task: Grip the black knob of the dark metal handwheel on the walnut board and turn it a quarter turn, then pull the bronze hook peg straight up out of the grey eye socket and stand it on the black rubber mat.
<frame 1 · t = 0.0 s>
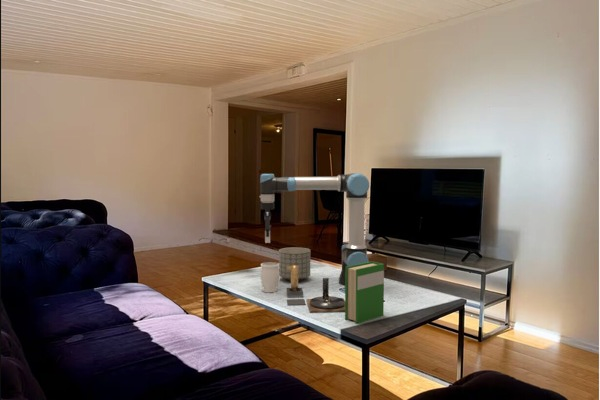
hand: (267, 240, 245), 28 cm above the table, fingers open, 13 cm apart
planter: (294, 280, 271), on the table
wheel base: (327, 306, 219), on the table
hardback book: (364, 317, 203), on the table
pad: (296, 302, 225), on the table
handwheel: (327, 292, 219), point 7 cm above the table, hinge at -90.0°
eye block: (294, 295, 238), on the table
hook peg: (292, 280, 237), in the eye block
jar: (270, 290, 247), on the table
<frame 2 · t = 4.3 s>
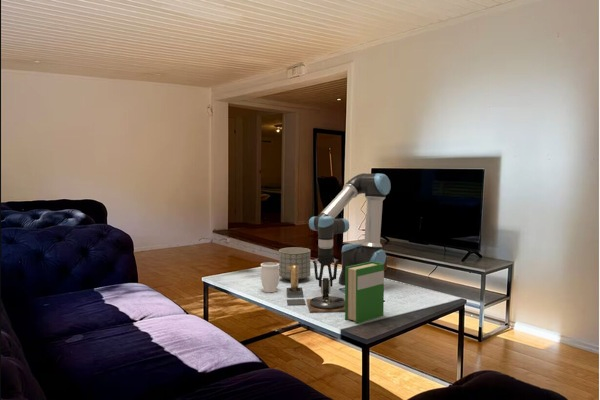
hand: (325, 293, 226), 5 cm above the table, fingers closed on handwheel, 3 cm apart
handwheel: (327, 292, 219), point 7 cm above the table, hinge at -90.0°, touching gripper
everything else where it was.
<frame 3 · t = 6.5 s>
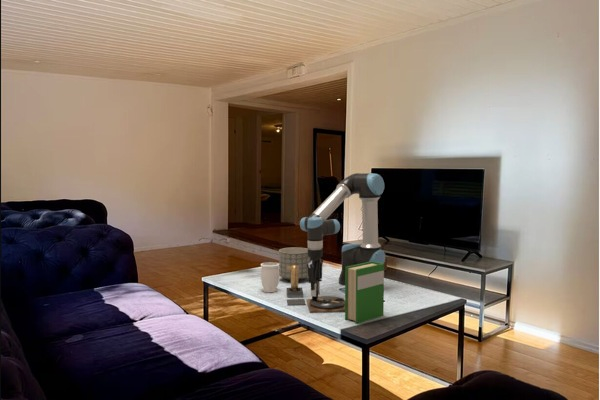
hand: (315, 294, 222), 5 cm above the table, fingers closed on handwheel, 3 cm apart
handwheel: (327, 292, 219), point 7 cm above the table, hinge at -36.2°, touching gripper
everything else where it was.
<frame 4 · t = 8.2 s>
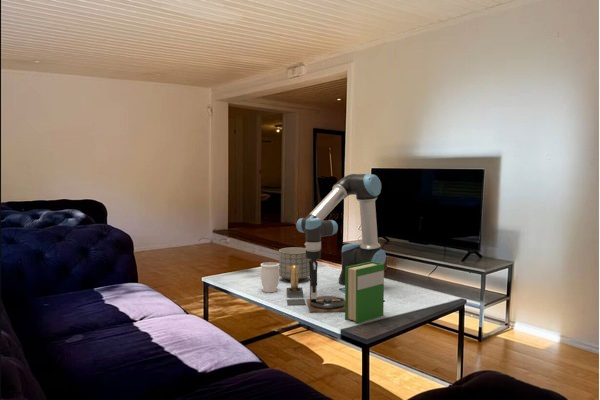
hand: (313, 296, 218), 5 cm above the table, fingers open, 5 cm apart
handwheel: (327, 292, 219), point 7 cm above the table, hinge at -1.4°
everything else where it was.
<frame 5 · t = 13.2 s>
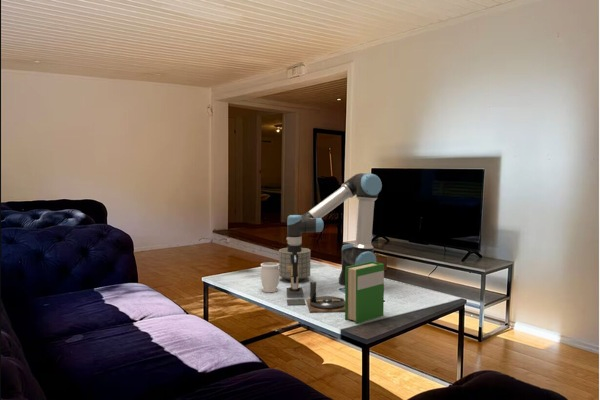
hand: (294, 287, 238), 4 cm above the table, fingers closed on hook peg, 4 cm apart
hook peg: (292, 280, 237), in the eye block, touching gripper
everything else where it was.
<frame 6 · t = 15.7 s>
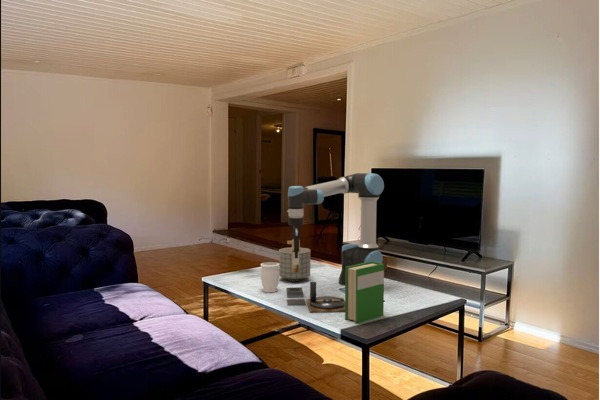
hand: (295, 263, 224), 20 cm above the table, fingers closed on hook peg, 4 cm apart
hook peg: (293, 255, 223), point 24 cm above the table, touching gripper
everything else where it was.
when the fingers open (5 cm above the table, at t = 18.5 s): hook peg stays where it is, resting on pad.
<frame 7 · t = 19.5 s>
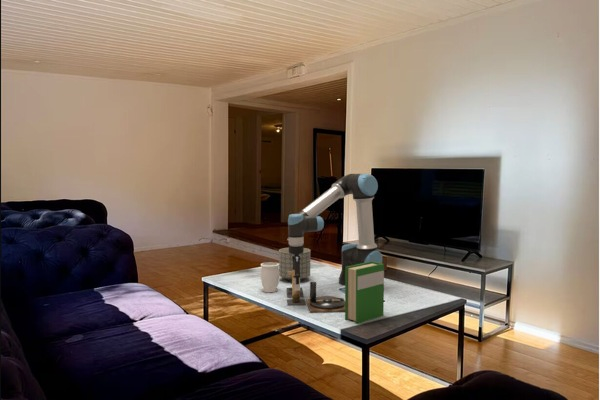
hand: (296, 286, 225), 8 cm above the table, fingers open, 13 cm apart
hook peg: (293, 286, 224), on the pad
everything else where it was.
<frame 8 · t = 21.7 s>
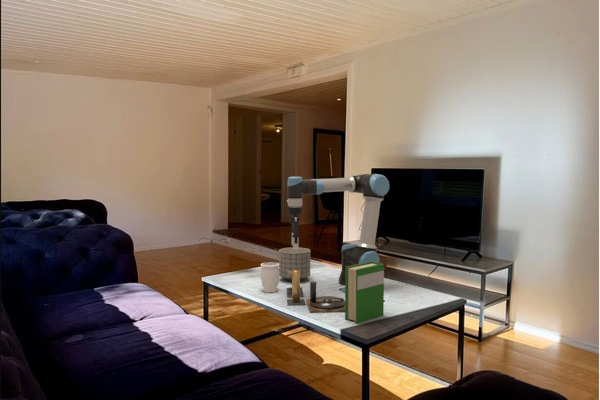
hand: (295, 247, 231), 27 cm above the table, fingers open, 13 cm apart
nothing on the table moved.
at the end: handwheel at -1° (first picture: -90°); hook peg inside the target area on the pad (0.0 cm from its centre), point 8.4 cm above the pad's base; hook peg tilted 0° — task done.
